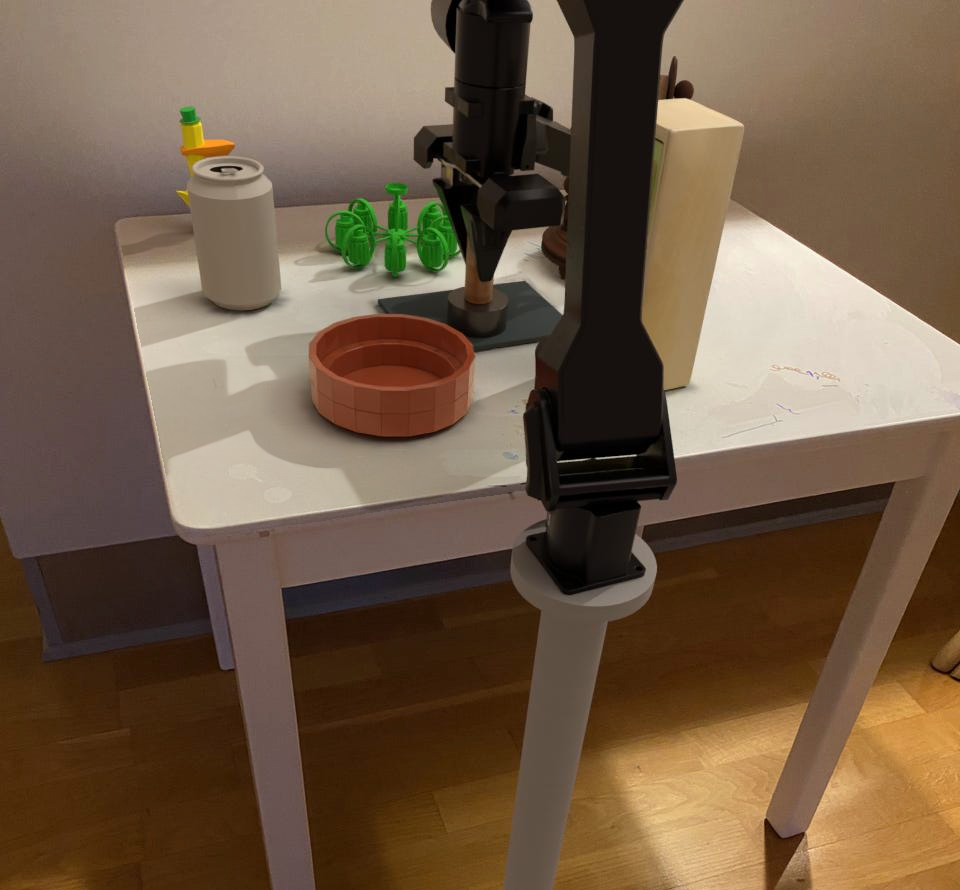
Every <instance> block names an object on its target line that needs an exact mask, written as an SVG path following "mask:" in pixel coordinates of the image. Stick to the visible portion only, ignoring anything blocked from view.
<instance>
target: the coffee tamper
mask: <svg viewBox="0 0 960 890" xmlns="http://www.w3.org/2000/svg"><path fill="white" fill-rule="evenodd" d="M464 274H465V275H464V286H461V287H457V288H455V289H452V290H453V291H451V292H450V293H449V295H448V310H447V325H448V326H450V327H452V328H454V329H456V330H457V331H459V332H461V333H462V334H464V336H467V337H473V338H487V337H493V336H496V335H499V334H501V333H502V332H503V331H504V330H505V329H506V323H507V311H508V298H507V296H506V295H505V294H504V293H502V292H500V291H499V290H496V289H493V285H494V281H495V280H494V279H495V275H494V276H493V278H492V280H491V281H487V282H481V281H480V280H479V277H478V274H477V270H476V267H475V263H474V259H473V255H472V251H471V247H470V243H469V239H468V235H467V250H466V265H465V273H464Z"/></svg>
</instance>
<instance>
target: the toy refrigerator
mask: <svg viewBox="0 0 960 890" xmlns="http://www.w3.org/2000/svg"><path fill="white" fill-rule="evenodd" d="M745 128H746V127H745V125H744V124H743V123H742V122H740V121H738V120H736V119H734V118H732V117H730V116H728V115H726V114H723V113H721V112H719V111H717V110H715V109H712V108H709V107H707V106H705V105H703V104H701V103H699V102H697V101H694V100H692V99H691V100H690V99H686V98H680V99H674V98H673V99H666V100H658V110H657V123H656V135H655V148H654V161H653V174H652V187H651V200H650V212H649V225H648V238H647V251H646V264H645V277H644V289H643V302H642V323H643V325H644V327H645V329H646V331H647V332H648V334H649V336H650V338H651V340H652V342H653V344H654V346H655V348H656V350H657V352H658V354H659V356H660V358H661V360H662V362H663V365H664V385H663V388H664V391H667V390H672V389H673V390H674V389H677V388H682V387H685V386H689V384H690V383H691V379H692V375H693V370H694V366H695V361H696V356H697V353H698V347H699V343H700V339H701V335H702V329H703V325H704V319H705V314H706V310H707V305H708V301H709V297H710V293H711V288H712V283H713V278H714V273H715V269H716V264H717V260H718V254H719V249H720V245H721V242H722V237H723V232H724V227H725V223H726V218H727V214H728V209H729V204H730V201H731V195H732V190H733V185H734V182H735V176H736V171H737V168H738V164H739V159H740V154H741V149H742V144H743V141H744V135H745Z"/></svg>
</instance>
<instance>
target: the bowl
mask: <svg viewBox="0 0 960 890" xmlns="http://www.w3.org/2000/svg"><path fill="white" fill-rule="evenodd" d="M475 362H476V354H475V351H474V349H473V345H472V343H471V342H470V341H469V340H468V339H467V338H466V337H465V336H464V334H462V333H461V332H459V331H457V330H456V329H454V328H452V327H450V326H448V325H447V324H444V323H441V322H438V321H435V320H431V319H428V318H424V317H418V316H411V315H405V314H386V313H373V314H363V315H358V316H352V317H349V318H345V319H342V320H339V321H336V322H333V323H331V324H330V325H328V326H326V327H324V328H323V329H320V330H319V331H318V332H317V333H316V334H315V335H314V337H313V338H312V339H311V340H310V342H309V343H308V369H309V382H310V394H311V395H310V396H311V402H312V403H313V405H314V406H315V408H316V410H317V411H318V413H319V415H321V416H322V417H324V418H325V419H327V420H328V421H329V422H331V423H333V424H334V425H336V426H339V427H341V428H344V429H347V430H349V431H352V432H355V433H359V434H364V435H365V434H366V435H370V436H377V437H413V436H419V435H423V434H425V435H426V434H430V433H435V432H438V431H440V430H442V429H445V428H447V427H449V426H452V425H454V424H455V423H457V422H458V421H459V420H461V418H463V417H464V416H465V415H467V413H468V412H469V410H470V407H471V405H472V403H473V398H474V397H473V396H474V384H475V383H474V382H475V381H474V380H475V379H474V378H475V364H476V363H475Z"/></svg>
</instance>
